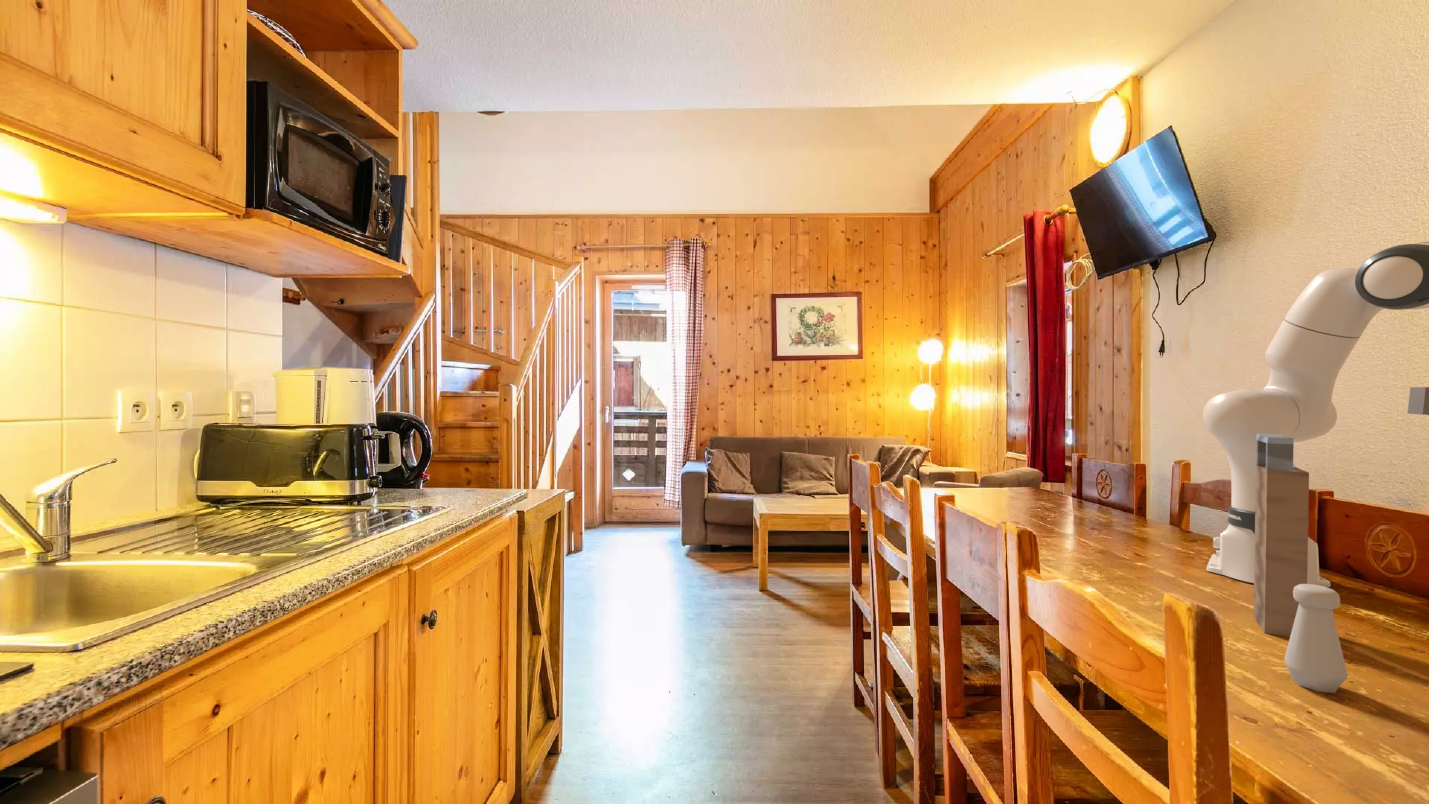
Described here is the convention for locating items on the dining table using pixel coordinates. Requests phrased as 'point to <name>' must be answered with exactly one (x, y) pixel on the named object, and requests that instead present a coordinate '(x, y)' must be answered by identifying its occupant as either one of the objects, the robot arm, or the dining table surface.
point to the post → (1279, 533)
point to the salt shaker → (1315, 640)
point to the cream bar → (1419, 400)
